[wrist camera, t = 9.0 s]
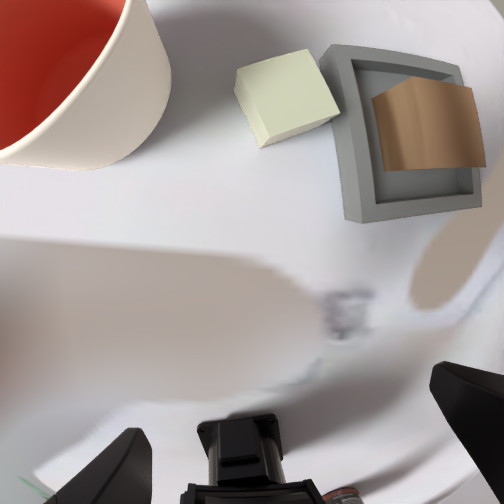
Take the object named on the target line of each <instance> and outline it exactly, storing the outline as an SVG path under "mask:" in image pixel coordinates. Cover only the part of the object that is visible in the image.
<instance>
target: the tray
mask: <svg viewBox="0 0 504 504" xmlns="http://www.w3.org/2000/svg"><path fill="white" fill-rule="evenodd" d="M319 63H320V67H321V71H322V76H323V78H324V80H325V82H326V84H327V86H328V88H329V90H330V92H331V94H332V96H333V99H334V101H335V103H336V105H337V107H338V109H339V111H340V114H338V115H337V116H335V117H333V118H332V119H331V121H332V127H333V133H334V139H335V145H336V151H337V158H338V165H339V172H340V180H341V188H342V197H343V206H344V215H345V219H346V220H350V221H354V222H358V223H362V224H364V223H371V222H377V221H384V220H391V219H398V218H405V217H412V216H419V215H426V214H433V213H440V212H448V211H455V210H462V209H469V208H477V207H482V196H481V182H480V171H479V167H476V168H444V169H421V170H402V171H387V172H384V167H383V160H382V153H381V147H380V141H379V135H378V129H377V124H376V118H375V113H374V109H373V104H372V98H374V97H375V96H377V95H379V94H381V93H383V92H385V91H386V90H388V89H390V88H392V87H394V86H396V85H398V84H400V83H401V82H403V81H405V80H407V79H409V78H411V77H413V76H414V77H421V78H426V79H432V80H437V81H443V82H447V83H452V84H457V85H461V86H464V83H463V80H462V76H461V73H460V69H459V66H457V65H454V64H450V63H446V62H442V61H439V60H435V59H430V58H426V57H422V56H417V55H412V54H407V53H401V52H396V51H390V50H383V49H376V48H368V47H359V46H349V45H336V44H332V45H331V46H330V47H329V48H328V50H327V51H326V52H325V53H324V54H323V56H322V57H321V58H320V59H319Z"/></svg>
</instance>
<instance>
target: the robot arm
mask: <svg viewBox="0 0 504 504" xmlns="http://www.w3.org/2000/svg"><path fill="white" fill-rule="evenodd" d="M429 387H430V391H431V393H432V395H433V397H434V398H435V400H436V402H437V404H438V406H439V407H440V409H441V411H442V413H443V415H444V417H445V419H446V420H447V422H448V424H449V425H450V427H451V428H452V430H453V431H454V433H455V434H456V436H457V437H458V439H459V440H460V441H461V443H462V444H463V446H464V447H465V449H466V450H467V452H468V453H469V455H470V456H471V458H472V459H473V461H474V462H475V464H476V465H477V467H478V469H479V470H480V472H481V473H482V475H483V476H484V478H485V479H486V481H487V483H488V484H489V486H490V487H491V489H492V490H493V492H494V494H495V496H496V497H497V499H498V500H499V502H500V504H504V375H501V374H496V373H492V372H488V371H483V370H479V369H475V368H471V367H467V366H463V365H459V364H455V363H451V362H447V361H442V362H440V363H438V364H436V365H434V367H433V369H432V374H431V379H430V384H429ZM271 419H273V420H271ZM202 429H205V430H202ZM197 433H198V435H199V438H200V440H201V443H202V445H203V448H204V450H205V452H206V455H207V457H208V460H209V485H196V484H192V483H188V490H187V491H185V493H184V494H181V497H180V504H326V503H325V501H324V499H323V498H322V496H321V494H320V493H319V491H318V490H317V488H316V486H315V485H314V483H313V481H312V480H311V479H307V480H303V481H299V482H290V483H286V481H285V477H284V473H283V469H282V465H281V461H282V460H283V454H282V447H281V440H280V433H279V426H278V420H277V417H276V415H274V414H268V415H263V416H257V417H251V418H244V419H238V420H230V421H222V422H214V423H204V424H199V425H198V426H197ZM151 498H152V448H151V445H150V443H149V441H148V439H147V437H146V436H145V434H144V432H143V430H142V429H141V428H127V429H126V430H125V431H124V432H122V433H121V434H120V435H119V436H118V437H117V438H116V439H115V440H114V441H113V442H112V443H111V444H110V445H109V446H108V447H106V448H105V449H104V450H103V451H102V452H101V453H100V454H99V455H98V456H97V457H96V458H95V459H93V460H92V461H91V462H90V463H89V464H88V465H87V466H86V467H85V468H84V469H82V470H81V471H80V472H79V473H78V474H77V475H76V476H75V477H74V478H72V479H71V480H70V481H69V482H68V483H67V484H66V485H64V486H63V487H62V488H61V489H60V490H59V491H58V492H56V494H54V495H53V496H52V497H51V498H49V499H48V500H47V501H46V502H45V503H43V504H151Z"/></svg>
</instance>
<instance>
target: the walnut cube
mask: <svg viewBox="0 0 504 504" xmlns="http://www.w3.org/2000/svg"><path fill="white" fill-rule="evenodd" d="M372 104H373V109H374V113H375V118H376V124H377V129H378V135H379V141H380V147H381V153H382V160H383V167H384V172H387V171H402V170H421V169H444V168H476V167H486V162H485V154H484V147H483V141H482V134H481V129H480V123H479V118H478V114H477V109H476V105H475V100H474V96H473V92H472V88H469V87H465V86H461V85H457V84H452V83H447V82H443V81H437V80H432V79H426V78H421V77H414V76H413V77H411V78H409V79H407V80H405V81H403V82H401V83H400V84H398V85H396V86H394V87H392V88H390V89H388V90H386V91H385V92H383V93H381V94H379V95H377V96H375V97H374V98H372Z"/></svg>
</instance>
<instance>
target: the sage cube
mask: <svg viewBox="0 0 504 504" xmlns="http://www.w3.org/2000/svg"><path fill="white" fill-rule="evenodd" d="M234 94H235V96H236V98H237V101H238V103H239V105H240V107H241V109H242V111H243V113H244V116H245V118H246V120H247V122H248V124H249V126H250V129H251V131H252V133H253V135H254V137H255V140H256V142H257V144H258V146H259V149H261V148H263V147H266V146H268V145H271V144H273V143H276V142H279V141H281V140H284V139H287V138H289V137H292V136H295V135H298V134H300V133H303V132H306V131H309V130H312V129H315V128H317V127H319V126H321V125H322V124H324V123H325V122H327V121H328V120H330V119H332V118H333V117H335V116H337V115H338V114H340V111H339V109H338V107H337V105H336V103H335V101H334V99H333V96H332V94H331V92H330V90H329V88H328V86H327V84H326V82H325V80H324V78H323V76H322V74H321V72H320V70H319V68H318V66H317V65H316V63H315V61H314V59H313V57H312V55H311V53H310V52H309V50H308V49H305V50H300V51H296V52H292V53H288V54H284V55H280V56H277V57H273V58H270V59H266V60H263V61H260V62H256V63H253V64H250V65H247V66H244V67H241V68H238V69H237V74H236V81H235V88H234Z"/></svg>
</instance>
